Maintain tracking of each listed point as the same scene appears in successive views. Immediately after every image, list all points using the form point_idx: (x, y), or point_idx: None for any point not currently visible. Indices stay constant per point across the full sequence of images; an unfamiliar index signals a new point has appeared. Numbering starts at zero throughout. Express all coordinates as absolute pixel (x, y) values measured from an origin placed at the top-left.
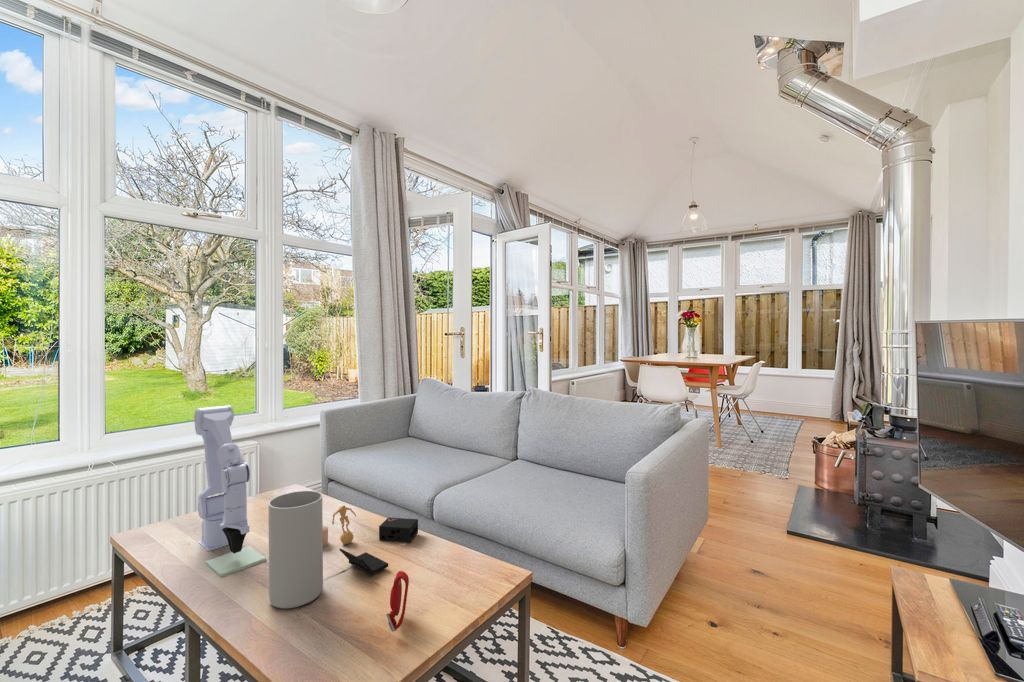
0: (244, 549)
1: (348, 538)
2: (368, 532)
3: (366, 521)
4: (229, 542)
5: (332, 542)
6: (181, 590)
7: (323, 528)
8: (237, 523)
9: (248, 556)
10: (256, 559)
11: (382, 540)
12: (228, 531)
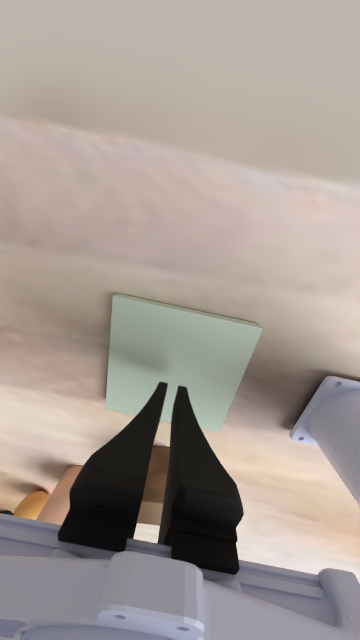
0: (212, 416)
1: (15, 510)
2: None
3: None
4: (179, 416)
5: None
6: (149, 169)
7: None
8: (16, 637)
9: None
10: (117, 394)
11: (3, 512)
12: (117, 495)
